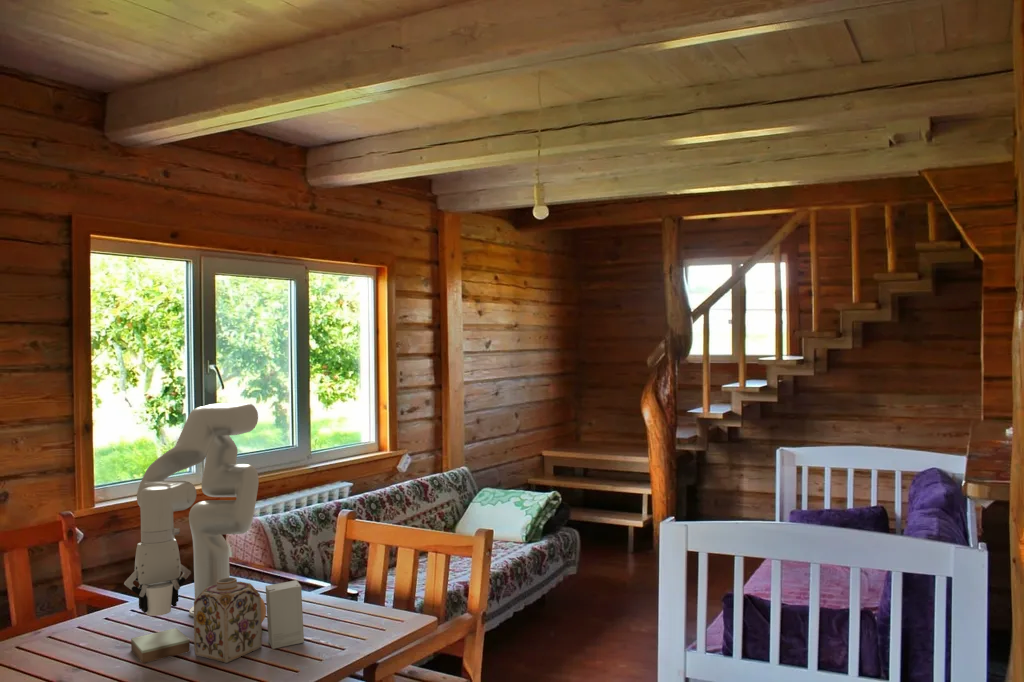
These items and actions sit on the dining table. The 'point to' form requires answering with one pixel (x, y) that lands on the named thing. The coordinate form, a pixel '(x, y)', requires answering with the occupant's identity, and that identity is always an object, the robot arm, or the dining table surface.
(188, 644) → the plinth
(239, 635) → the decorative jar
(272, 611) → the skincare box
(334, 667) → the dining table surface
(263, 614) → the egg
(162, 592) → the beige cylinder
